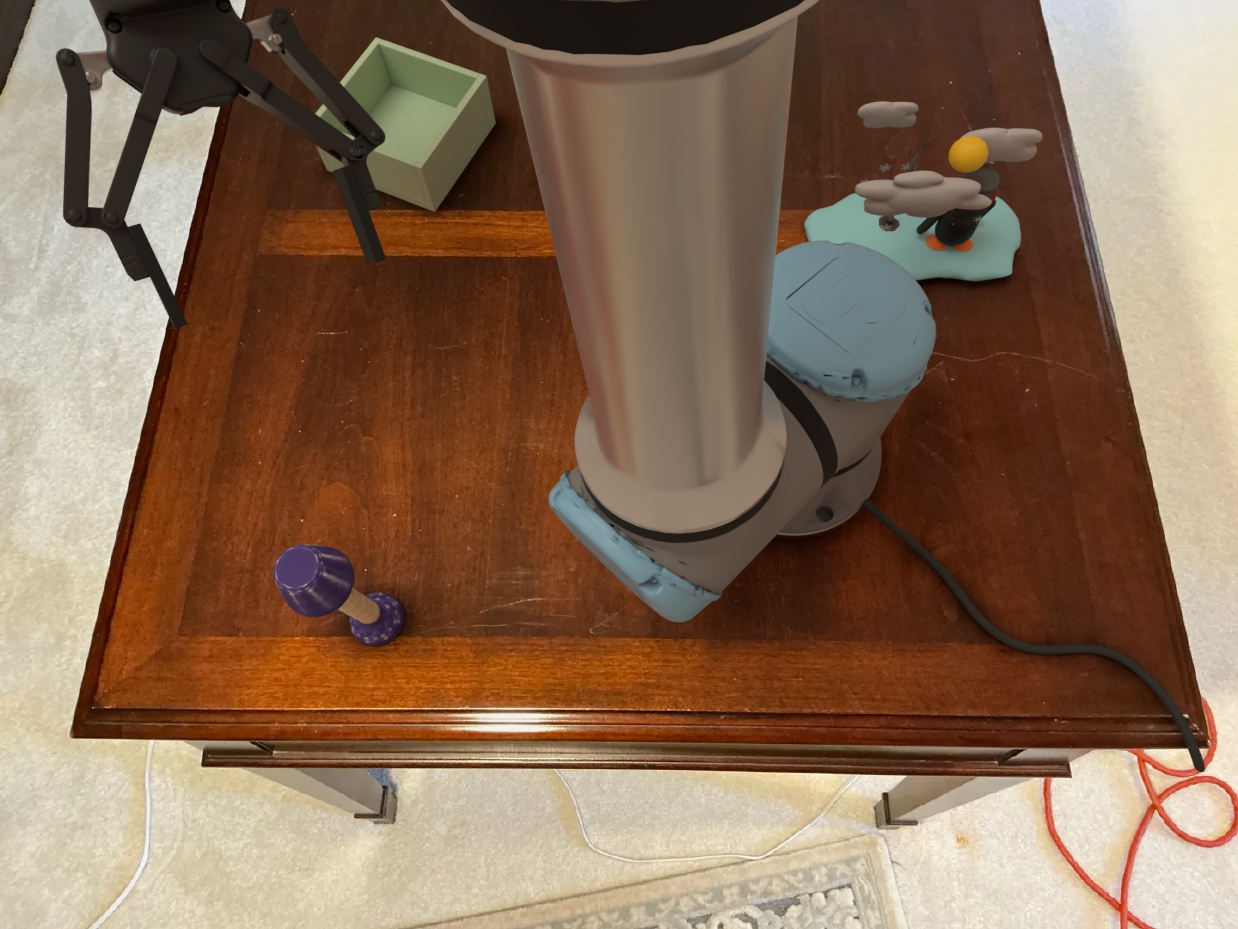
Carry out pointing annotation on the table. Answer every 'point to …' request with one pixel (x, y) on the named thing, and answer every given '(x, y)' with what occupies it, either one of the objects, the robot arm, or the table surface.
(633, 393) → the robot arm
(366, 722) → the table surface
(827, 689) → the table surface
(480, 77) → the tote
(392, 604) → the toy lamp
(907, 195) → the penguin figurine
